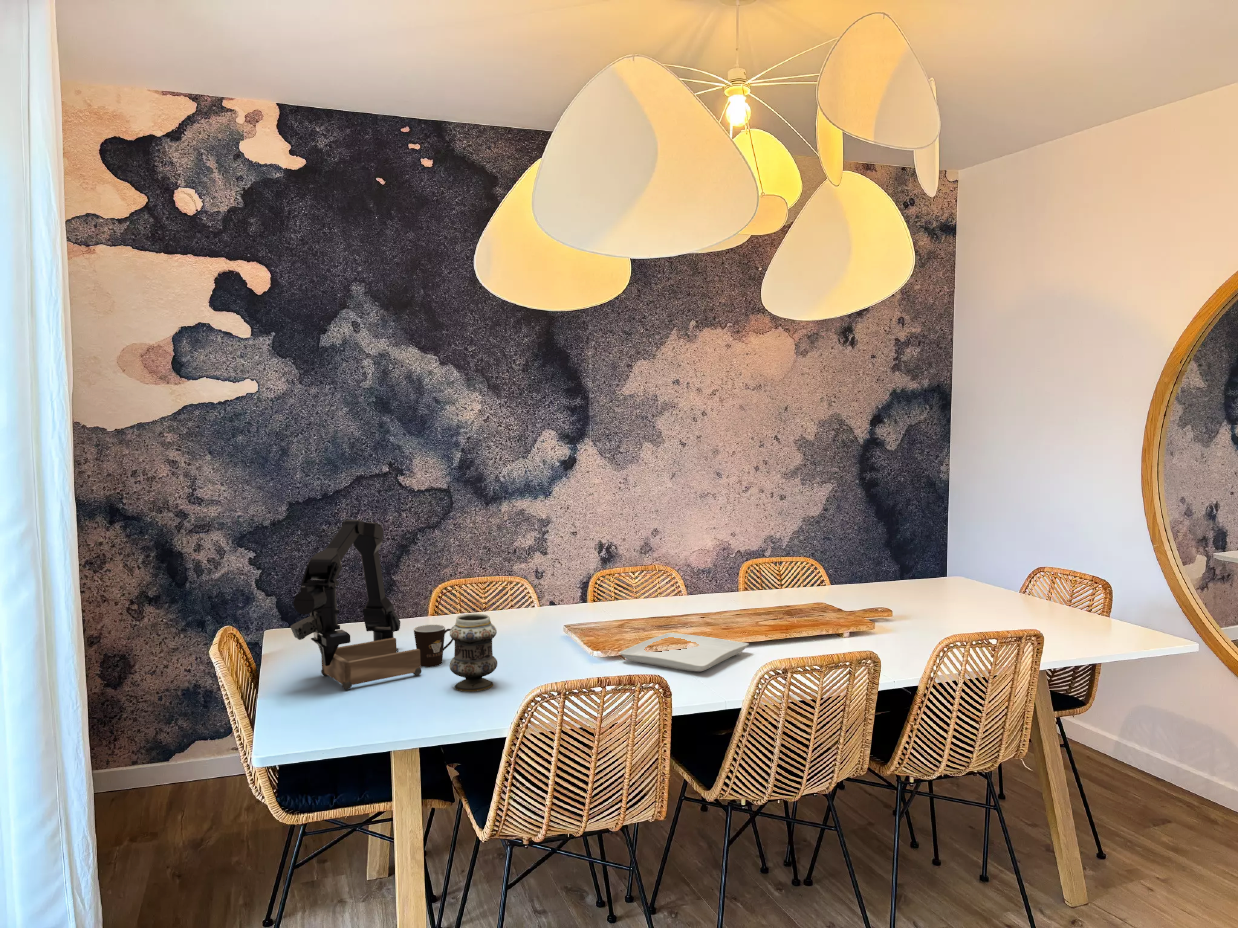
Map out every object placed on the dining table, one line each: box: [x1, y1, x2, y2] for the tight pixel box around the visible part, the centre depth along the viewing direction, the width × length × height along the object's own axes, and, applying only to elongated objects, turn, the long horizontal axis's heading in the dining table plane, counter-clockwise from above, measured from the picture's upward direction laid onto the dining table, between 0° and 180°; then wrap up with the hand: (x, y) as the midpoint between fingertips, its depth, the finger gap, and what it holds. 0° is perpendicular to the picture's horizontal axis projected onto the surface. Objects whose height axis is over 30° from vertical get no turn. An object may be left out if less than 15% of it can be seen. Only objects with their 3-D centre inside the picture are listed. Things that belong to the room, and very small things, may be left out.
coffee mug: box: [413, 624, 454, 668], centre depth 256 cm, size 12×9×10 cm
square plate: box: [618, 632, 750, 672], centre depth 258 cm, size 27×27×4 cm
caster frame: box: [320, 637, 423, 691], centre depth 245 cm, size 18×21×7 cm
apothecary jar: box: [449, 613, 498, 693], centre depth 234 cm, size 12×12×18 cm
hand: (327, 665), depth 238 cm, fingers closed
